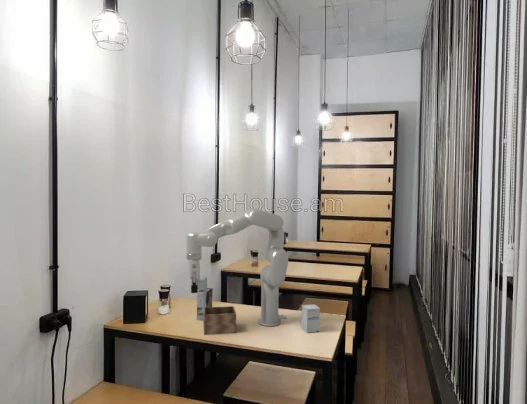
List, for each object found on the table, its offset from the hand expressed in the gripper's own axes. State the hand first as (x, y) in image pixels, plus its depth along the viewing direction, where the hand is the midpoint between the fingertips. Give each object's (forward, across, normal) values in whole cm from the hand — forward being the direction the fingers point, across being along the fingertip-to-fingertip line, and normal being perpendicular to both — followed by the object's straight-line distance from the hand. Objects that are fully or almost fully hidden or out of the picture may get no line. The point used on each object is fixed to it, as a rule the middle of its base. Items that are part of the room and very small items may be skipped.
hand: (194, 292), depth 188 cm
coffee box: (+21, +19, -6) cm, 28 cm away
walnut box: (+20, 0, -13) cm, 24 cm away
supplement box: (+21, -8, -60) cm, 64 cm away
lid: (+2, 0, -6) cm, 6 cm away
